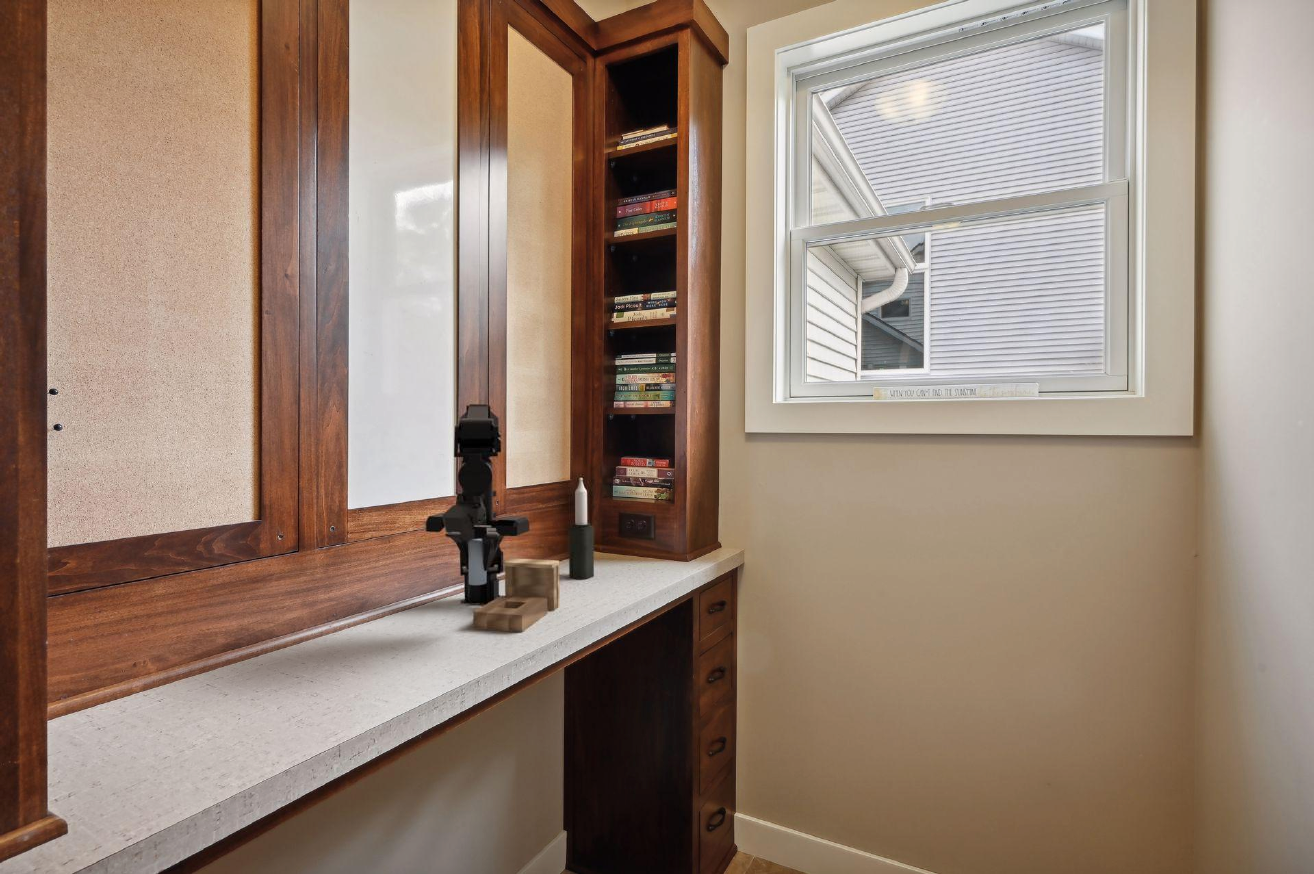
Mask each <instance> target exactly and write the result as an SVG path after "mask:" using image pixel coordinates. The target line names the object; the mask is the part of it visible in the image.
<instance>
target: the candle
mask: <svg viewBox="0 0 1314 874" xmlns="http://www.w3.org/2000/svg"><path fill="white" fill-rule="evenodd" d="M578 480H579V482H578V485H577V488H576V490H575V492H574V496H575V497H574V500H575V502H574V504H575V505H574V506H575V507H574V508H575V510H574V512H575V516H574V517H575V519H574V520H575V522H573V523H572V524H571V526H568V543H569V544H568V563H569V564H568V568H569V569H568V570H569V571H568V577H569V579H577V580H580V581H582V580H588V579H590V578H591V579H592V578H594V576H595V569H594V568H595V561H594V559H595V551H594V550H595V549H594V544H595V543H594V540H595V539H594V535H595V534H594V533H595V531H594V525H591V523H590V522H588V490H587V489H586V488H585V486H584V482H583V480H584V479H583V478H582V477H580V478H579V479H578Z"/></svg>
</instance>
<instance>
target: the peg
mask: <svg viewBox="0 0 1314 874" xmlns="http://www.w3.org/2000/svg"><path fill="white" fill-rule="evenodd" d="M468 552H469V584H470V585H482V584H486V583H487V575H486V571H484V564H483V560H484V543H483V541H482V539H472V540H469V541H468Z"/></svg>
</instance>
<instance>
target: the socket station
mask: <svg viewBox="0 0 1314 874" xmlns="http://www.w3.org/2000/svg"><path fill="white" fill-rule="evenodd" d="M503 567H504V594H505V595H501V596H500V597H498V598H497V599H495V600H493V601H491V602H490V603H488V604H486V605H483V606H481V607H479V608H477V609H476V610H474V611H473V612H472V614H473V616H472V618H473V619H472V621H473V626H472V627H473V629H477V630H489V631H503V632H513V633H514V632H516V633H524V631H526V630H527V629H529V628H530V627H532V626H533V625H534V624H536V623H537V622H538V621H539V620H541V619H542V618H544V617H545V616H546V615H548V611H555V610H557V609H558V608H560V560H553V559H552V560H551V559H535V558H534V559H532V558H531V559H530V558H512V557H511V558H509V559H506V560H505V561H504V560H503Z"/></svg>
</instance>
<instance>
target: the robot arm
mask: <svg viewBox="0 0 1314 874" xmlns="http://www.w3.org/2000/svg"><path fill="white" fill-rule="evenodd" d="M465 408H466V409H465V412H464V413H463V415H461V416H460V417H459V420H458V424H457V425H455V426H454V441H453V442H454V443H453V446H454V447H453V457H454V458H462V460H461V462H460V468H459V471H458V473H457V479H458V483H459V485H460V491H461V492H459V493H457V494H456V502H455V504H454V505H452V506H451V507H449V508H448V509H447V510H446V511H445V512H439V513H436V514H432V515H429V516H428V517H427V518H426V520H425V523H424V526H425V527H424V528H425V532H426V533H428V532H429V533H440V532H442V530H443V529H444V530H445V532H446V533H445V534H444V535H445V537H446V538H449V539H450V540H452V541H454V543H455V544H456V546H457V547H458V550H459V564H460V565H459V567H460V568H459V569H460V571H459V574H460V575H459V576H461V577H463V578H464V593H463V594H464V598H463V599H462V600H460V604H466V605H467V604H469V605H470V604H471V605H483V606H484V605H486V604H488V603H490V602H491V601H493V600H495V599H497V598H498V597H500V596H502V595H500V580H499V578H498V574H501V573H504V566H503V562H504V552H503V550H502V548H501V546H500V544H501V543H502V541H503V539H504V537H518V536H520V535H524V534H525V533H527V532H530V520H529V519H528V517H527V516H522V515H507V516H505V517H502V518H499V519H497V512H496V511H495V512H494V498H495V497H497V490H494V477H493V475H494V473H493V472H494V471H493V470H494V469H493V468H494V467H493V464H494V463H493V461H492V458H494V457H495V458H496V457H498V456H499V455H498V453H502V437H501V435H502V432H501V430H500V428H499V427H500V424H499V423H500V422H499V421H500V420H499V417H498V416H497V415H496V414H494V412H492V411H491V410H492V409H491V405H490V404H489V405H488V404H487V403H469V405H468V404H467V405H466V406H465ZM472 539H482V541H483V543H484V560H483V564H484V571H486V575H487V583H486V584H482V585H470V584H469V552H468V541H469V540H472Z"/></svg>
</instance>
